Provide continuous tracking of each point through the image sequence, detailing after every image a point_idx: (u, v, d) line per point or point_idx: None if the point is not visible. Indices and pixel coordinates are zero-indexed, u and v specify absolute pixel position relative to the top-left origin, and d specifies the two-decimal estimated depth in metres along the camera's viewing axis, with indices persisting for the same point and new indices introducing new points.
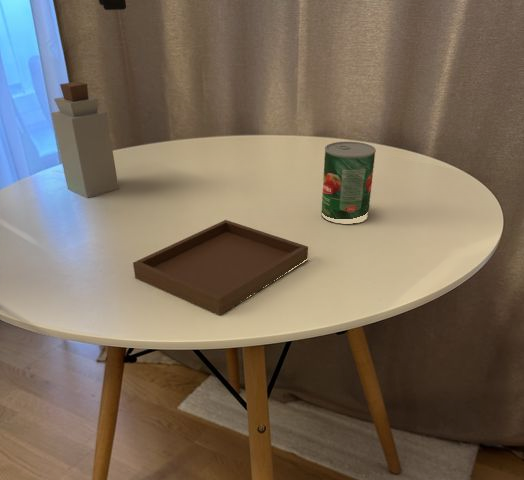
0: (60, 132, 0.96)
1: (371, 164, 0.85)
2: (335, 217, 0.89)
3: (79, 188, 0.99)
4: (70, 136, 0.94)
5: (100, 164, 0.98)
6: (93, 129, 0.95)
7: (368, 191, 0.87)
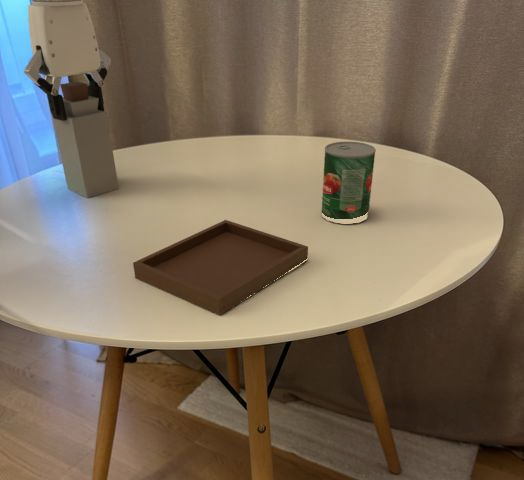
0: (60, 132, 0.96)
1: (371, 164, 0.85)
2: (335, 217, 0.89)
3: (79, 188, 0.99)
4: (70, 136, 0.94)
5: (100, 164, 0.98)
6: (93, 129, 0.95)
7: (368, 191, 0.87)
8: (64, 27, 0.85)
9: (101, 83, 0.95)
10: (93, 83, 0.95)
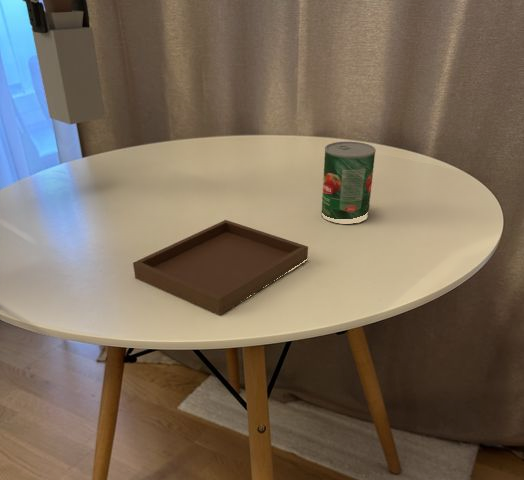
0: (41, 49, 0.88)
1: (371, 164, 0.85)
2: (335, 217, 0.89)
3: (62, 114, 0.91)
4: (52, 52, 0.86)
5: (85, 87, 0.90)
6: (77, 45, 0.87)
7: (368, 191, 0.87)
8: None
9: None
10: None
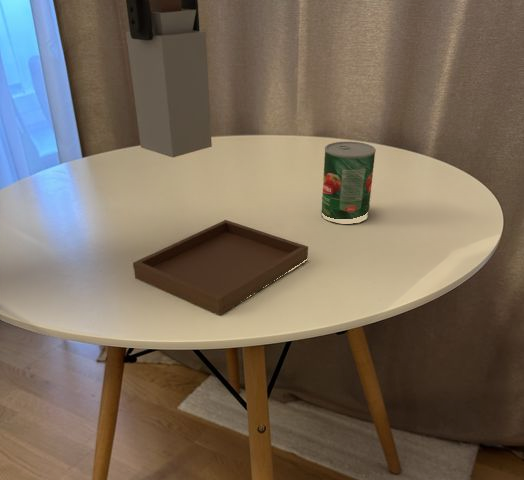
0: (138, 61, 0.67)
1: (371, 164, 0.85)
2: (335, 217, 0.89)
3: (161, 144, 0.70)
4: (155, 65, 0.65)
5: (192, 109, 0.69)
6: (187, 55, 0.66)
7: (368, 191, 0.87)
8: None
9: None
10: None
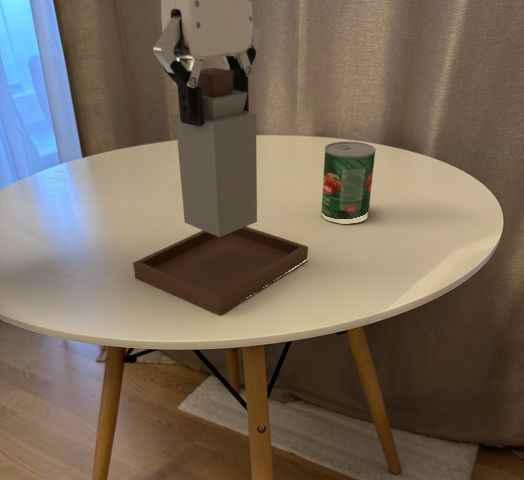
0: (187, 142, 0.65)
1: (371, 164, 0.85)
2: (335, 217, 0.89)
3: (207, 223, 0.69)
4: (205, 149, 0.63)
5: (240, 189, 0.68)
6: (238, 138, 0.64)
7: (368, 191, 0.87)
8: None
9: (248, 70, 0.64)
10: (237, 70, 0.64)
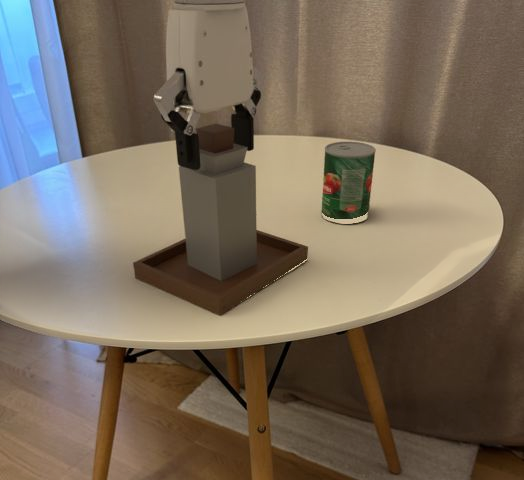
0: (190, 193, 0.69)
1: (371, 164, 0.85)
2: (335, 217, 0.89)
3: (209, 267, 0.72)
4: (208, 200, 0.67)
5: (240, 235, 0.71)
6: (238, 190, 0.68)
7: (368, 191, 0.87)
8: (219, 42, 0.58)
9: (254, 111, 0.68)
10: (243, 113, 0.68)
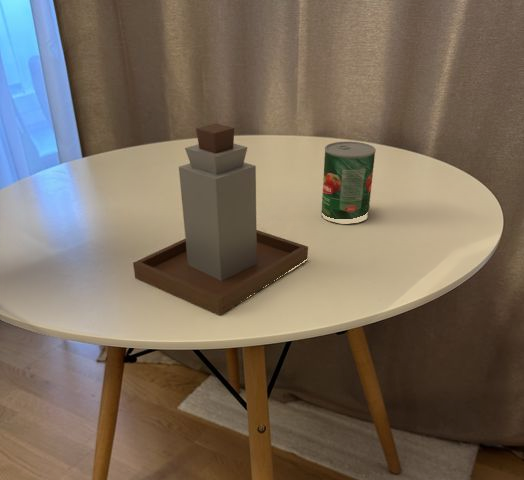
0: (190, 193, 0.69)
1: (371, 164, 0.85)
2: (335, 217, 0.89)
3: (209, 267, 0.72)
4: (208, 200, 0.67)
5: (240, 235, 0.71)
6: (238, 190, 0.68)
7: (368, 191, 0.87)
8: None
9: None
10: None
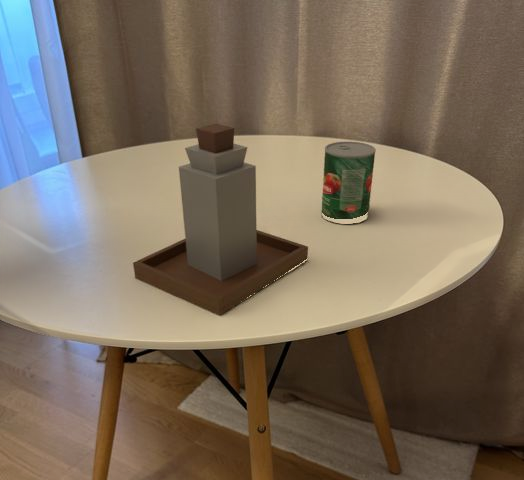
0: (190, 193, 0.69)
1: (371, 164, 0.85)
2: (335, 217, 0.89)
3: (209, 267, 0.72)
4: (208, 200, 0.67)
5: (240, 235, 0.71)
6: (238, 190, 0.68)
7: (368, 191, 0.87)
8: None
9: None
10: None
